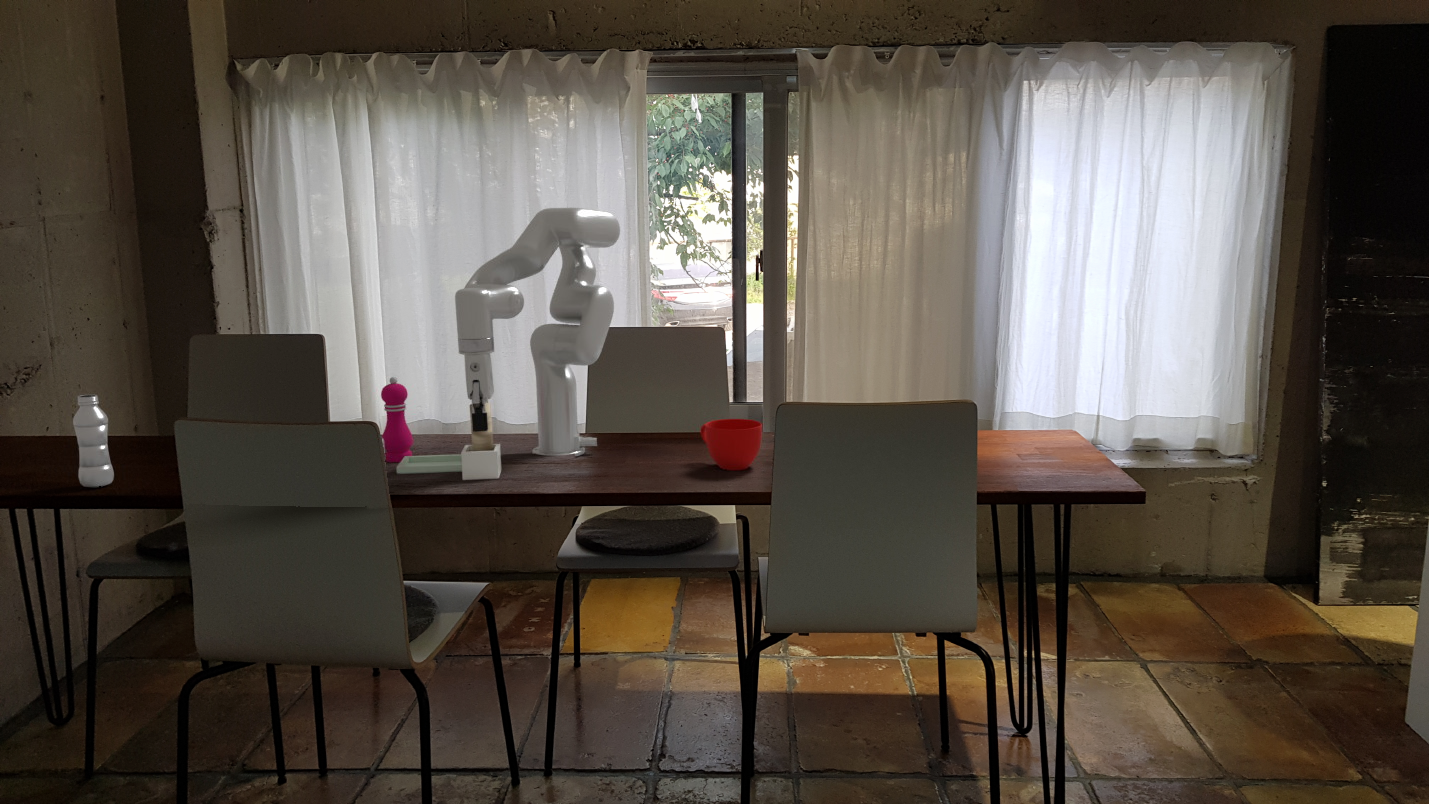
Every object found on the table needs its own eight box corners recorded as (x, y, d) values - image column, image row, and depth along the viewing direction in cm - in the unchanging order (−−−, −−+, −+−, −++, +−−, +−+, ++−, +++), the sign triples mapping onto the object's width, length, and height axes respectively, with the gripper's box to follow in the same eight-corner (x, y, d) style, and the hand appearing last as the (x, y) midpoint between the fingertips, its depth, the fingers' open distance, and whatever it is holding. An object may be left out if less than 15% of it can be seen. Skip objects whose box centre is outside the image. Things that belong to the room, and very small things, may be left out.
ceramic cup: (721, 455, 251) (721, 414, 249) (774, 466, 239) (774, 423, 238) (682, 464, 242) (681, 422, 240) (734, 476, 230) (734, 432, 229)
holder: (501, 474, 235) (500, 443, 234) (498, 482, 227) (497, 451, 226) (466, 475, 234) (465, 445, 233) (462, 484, 226) (461, 452, 225)
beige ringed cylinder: (494, 455, 233) (491, 402, 231) (493, 460, 228) (489, 406, 226) (474, 456, 232) (470, 403, 230) (472, 461, 228) (468, 407, 226)
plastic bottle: (88, 483, 231) (78, 393, 227) (120, 482, 231) (110, 393, 228) (73, 490, 225) (62, 398, 221) (106, 489, 225) (96, 398, 222)
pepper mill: (405, 463, 246) (399, 379, 243) (377, 462, 248) (371, 378, 244) (419, 456, 253) (414, 375, 250) (392, 455, 255) (386, 374, 251)
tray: (475, 464, 245) (475, 453, 244) (470, 475, 234) (470, 464, 234) (405, 466, 243) (405, 456, 243) (397, 478, 232) (396, 467, 232)
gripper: (490, 350, 218) (495, 436, 221) (497, 340, 234) (502, 419, 238) (453, 352, 217) (459, 437, 220) (463, 341, 233) (468, 421, 237)
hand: (481, 427), depth 229 cm, fingers closed on beige ringed cylinder, 4 cm apart
